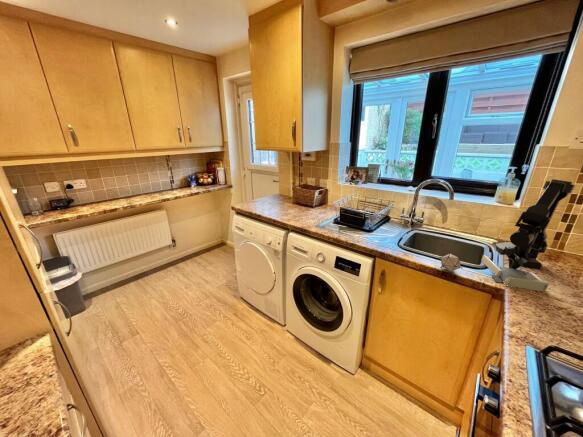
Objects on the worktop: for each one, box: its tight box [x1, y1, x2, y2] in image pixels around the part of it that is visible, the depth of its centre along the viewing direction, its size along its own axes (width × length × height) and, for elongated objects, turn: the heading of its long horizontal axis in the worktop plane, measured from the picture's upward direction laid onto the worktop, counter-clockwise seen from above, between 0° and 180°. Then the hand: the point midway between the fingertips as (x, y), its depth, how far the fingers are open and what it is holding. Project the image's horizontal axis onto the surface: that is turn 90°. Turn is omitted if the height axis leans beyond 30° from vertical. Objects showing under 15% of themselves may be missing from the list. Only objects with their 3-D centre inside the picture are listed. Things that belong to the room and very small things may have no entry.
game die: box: [438, 251, 463, 274], centre depth 105 cm, size 9×8×10 cm
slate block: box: [499, 265, 528, 281], centre depth 100 cm, size 7×7×4 cm
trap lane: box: [481, 254, 549, 292], centre depth 104 cm, size 20×13×3 cm
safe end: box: [505, 276, 550, 292], centre depth 95 cm, size 1×13×4 cm, turn 77°
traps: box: [491, 270, 529, 284], centre depth 102 cm, size 6×22×1 cm, turn 101°
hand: (510, 271), depth 104 cm, fingers closed
